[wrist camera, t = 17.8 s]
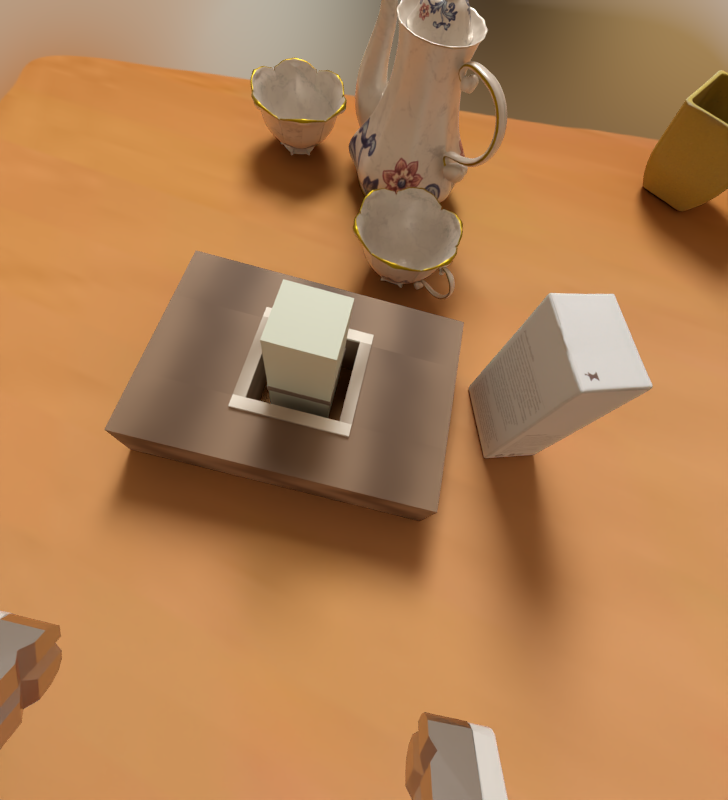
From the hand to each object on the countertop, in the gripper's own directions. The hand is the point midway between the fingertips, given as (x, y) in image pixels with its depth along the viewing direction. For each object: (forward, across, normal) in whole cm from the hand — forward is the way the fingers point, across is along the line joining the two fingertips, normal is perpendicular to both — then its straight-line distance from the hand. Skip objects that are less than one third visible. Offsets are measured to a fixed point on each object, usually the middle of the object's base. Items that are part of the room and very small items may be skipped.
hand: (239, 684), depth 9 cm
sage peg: (+23, +3, +2) cm, 23 cm away
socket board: (+23, +3, +2) cm, 23 cm away
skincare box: (+24, -12, +1) cm, 27 cm away
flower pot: (+48, -29, -22) cm, 60 cm away
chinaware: (+39, +2, -13) cm, 41 cm away
